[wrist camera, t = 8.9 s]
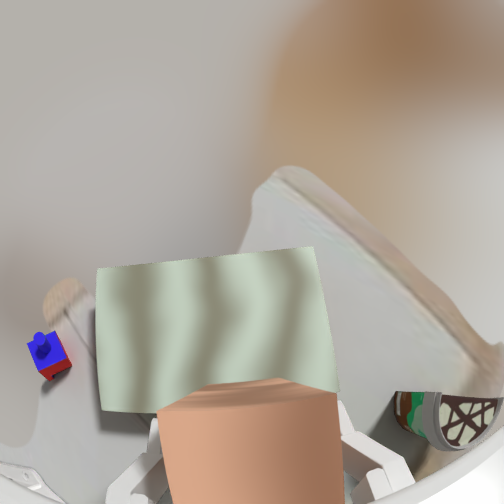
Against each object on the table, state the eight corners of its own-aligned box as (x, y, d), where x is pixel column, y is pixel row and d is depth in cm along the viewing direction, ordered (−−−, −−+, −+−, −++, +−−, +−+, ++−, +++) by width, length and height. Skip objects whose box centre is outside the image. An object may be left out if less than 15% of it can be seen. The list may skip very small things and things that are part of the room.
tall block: (215, 448, 13) (184, 543, 4) (208, 384, 14) (156, 411, 5) (286, 440, 13) (345, 524, 4) (278, 377, 15) (336, 393, 5)
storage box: (121, 405, 25) (101, 410, 20) (115, 283, 31) (97, 268, 26) (324, 388, 27) (340, 391, 22) (302, 263, 33) (312, 246, 28)
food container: (370, 437, 24) (417, 456, 15) (385, 389, 27) (437, 391, 17) (442, 440, 23) (492, 449, 14) (454, 398, 26) (506, 397, 16)
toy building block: (74, 369, 27) (62, 349, 22) (49, 381, 24) (30, 364, 19) (63, 345, 28) (49, 320, 23) (38, 356, 26) (19, 334, 20)
